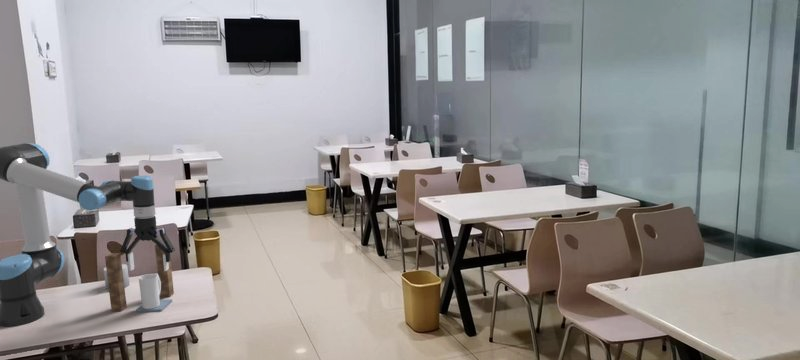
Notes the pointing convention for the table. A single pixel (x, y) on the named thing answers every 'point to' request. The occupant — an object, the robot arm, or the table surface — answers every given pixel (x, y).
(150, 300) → the mug
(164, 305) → the mat
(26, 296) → the robot arm
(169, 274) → the far post
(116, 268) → the corner post
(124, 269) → the toilet tissue
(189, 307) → the table surface
